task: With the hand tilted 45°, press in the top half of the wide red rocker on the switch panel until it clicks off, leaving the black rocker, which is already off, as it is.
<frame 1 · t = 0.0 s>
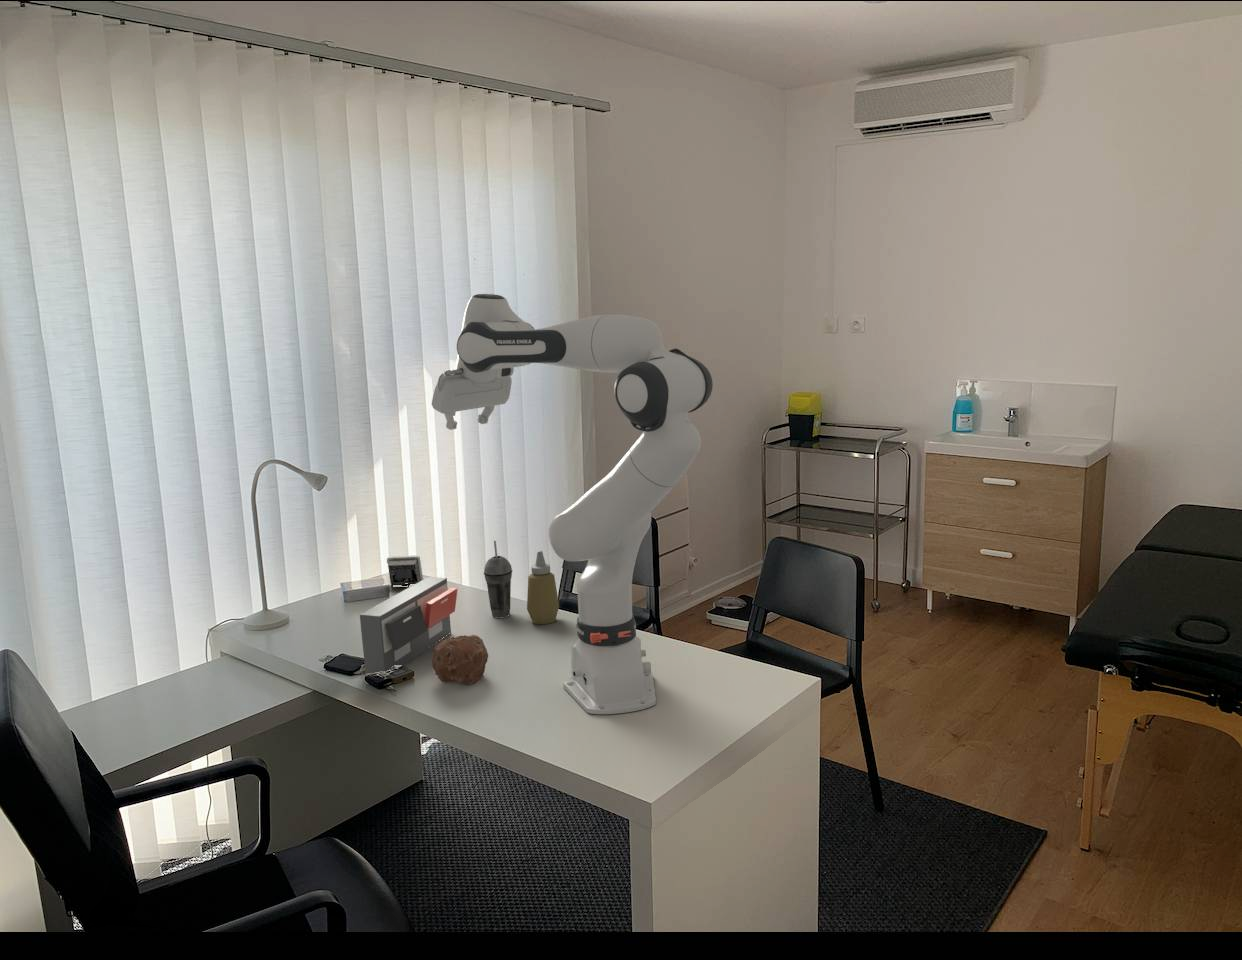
hand: (467, 425, 206), 52 cm above the table, tool tilted 20°, fingers open, 8 cm apart
switch panel: (410, 653, 214), on the table
red rocker: (441, 607, 217), point 9 cm above the table, hinge at -12.0°
squeeze bottle: (543, 621, 232), on the table
black rocker: (407, 627, 204), point 9 cm above the table, hinge at 12.0°
decorative rock: (460, 680, 198), on the table
beverage cup: (501, 615, 237), on the table
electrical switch: (406, 587, 265), on the table
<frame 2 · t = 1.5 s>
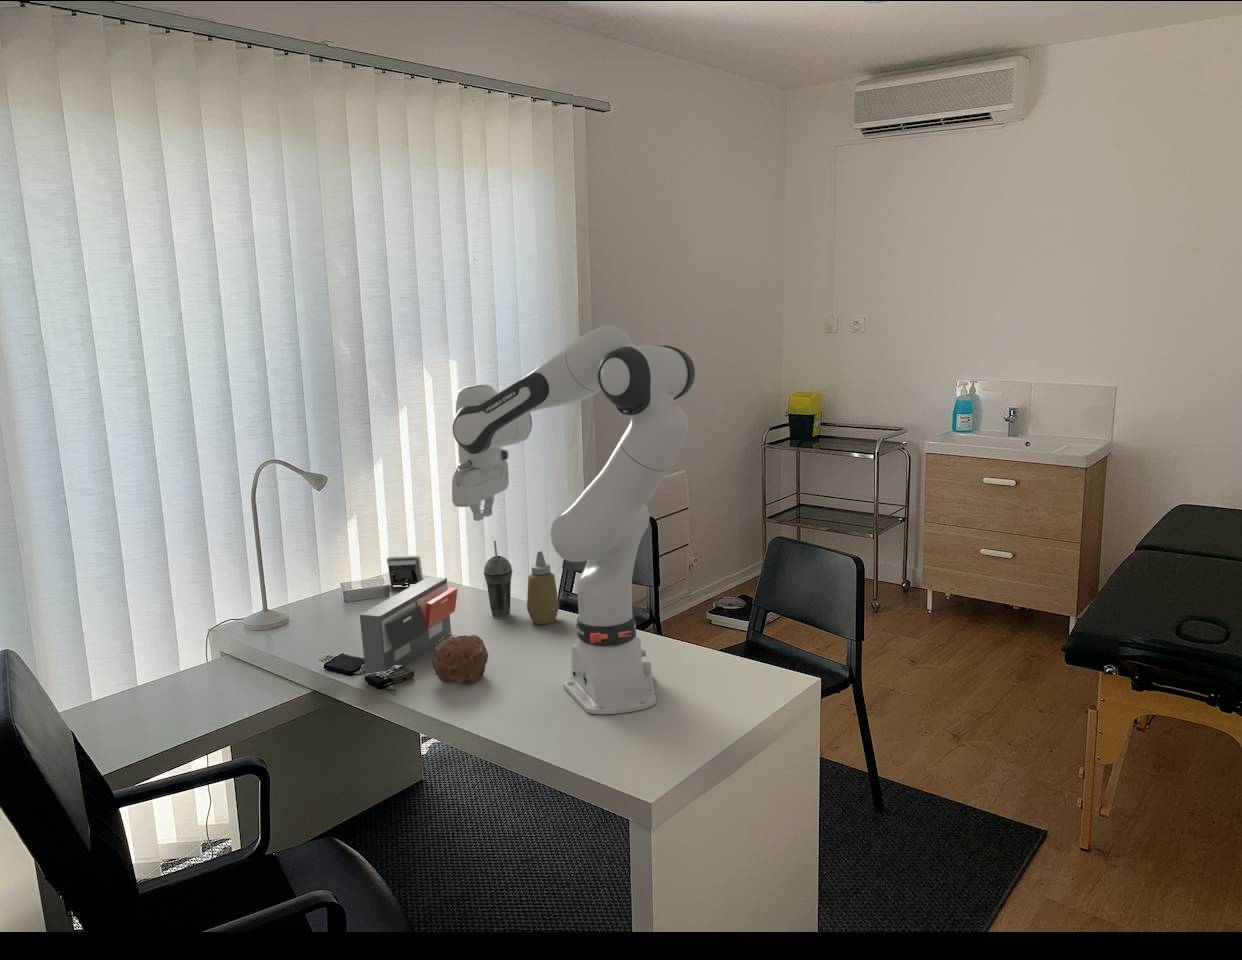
hand: (483, 518, 209), 31 cm above the table, tool pointing down, fingers open, 3 cm apart
nothing on the table moved.
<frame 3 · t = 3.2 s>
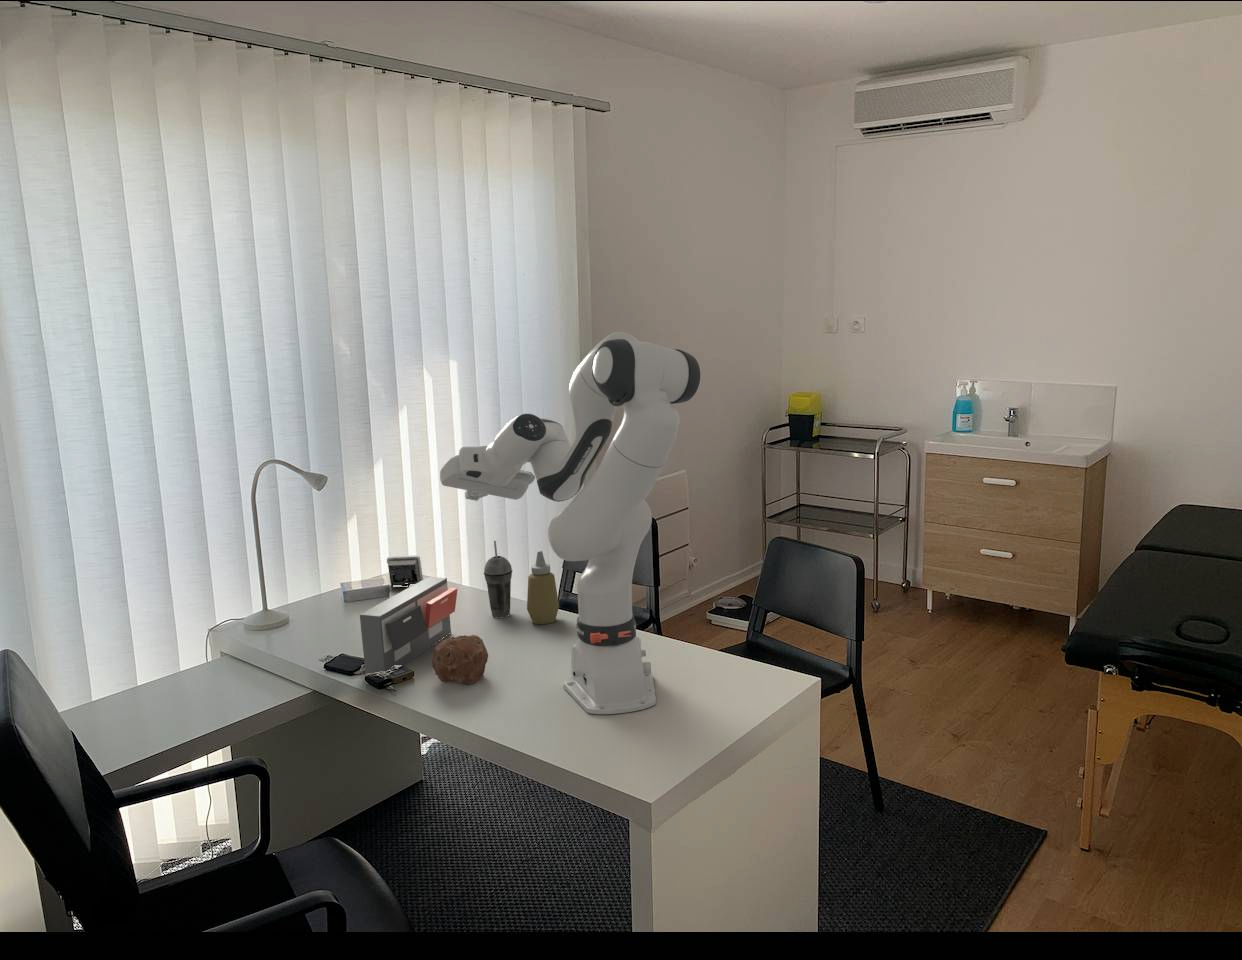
hand: (470, 497, 216), 34 cm above the table, tool tilted 50°, fingers closed
nothing on the table moved.
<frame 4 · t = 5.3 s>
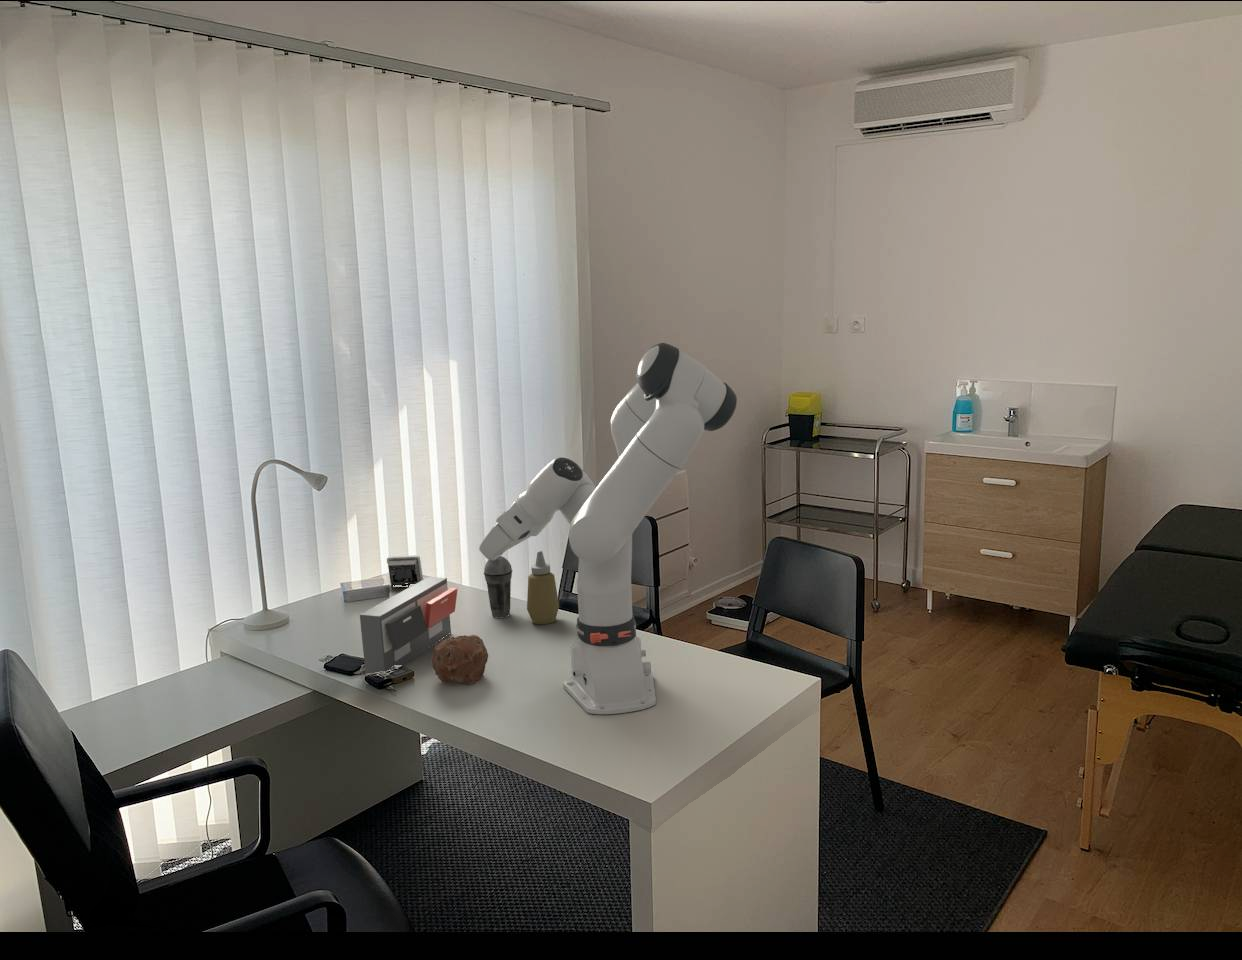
hand: (493, 556, 211), 22 cm above the table, tool tilted 45°, fingers closed
nothing on the table moved.
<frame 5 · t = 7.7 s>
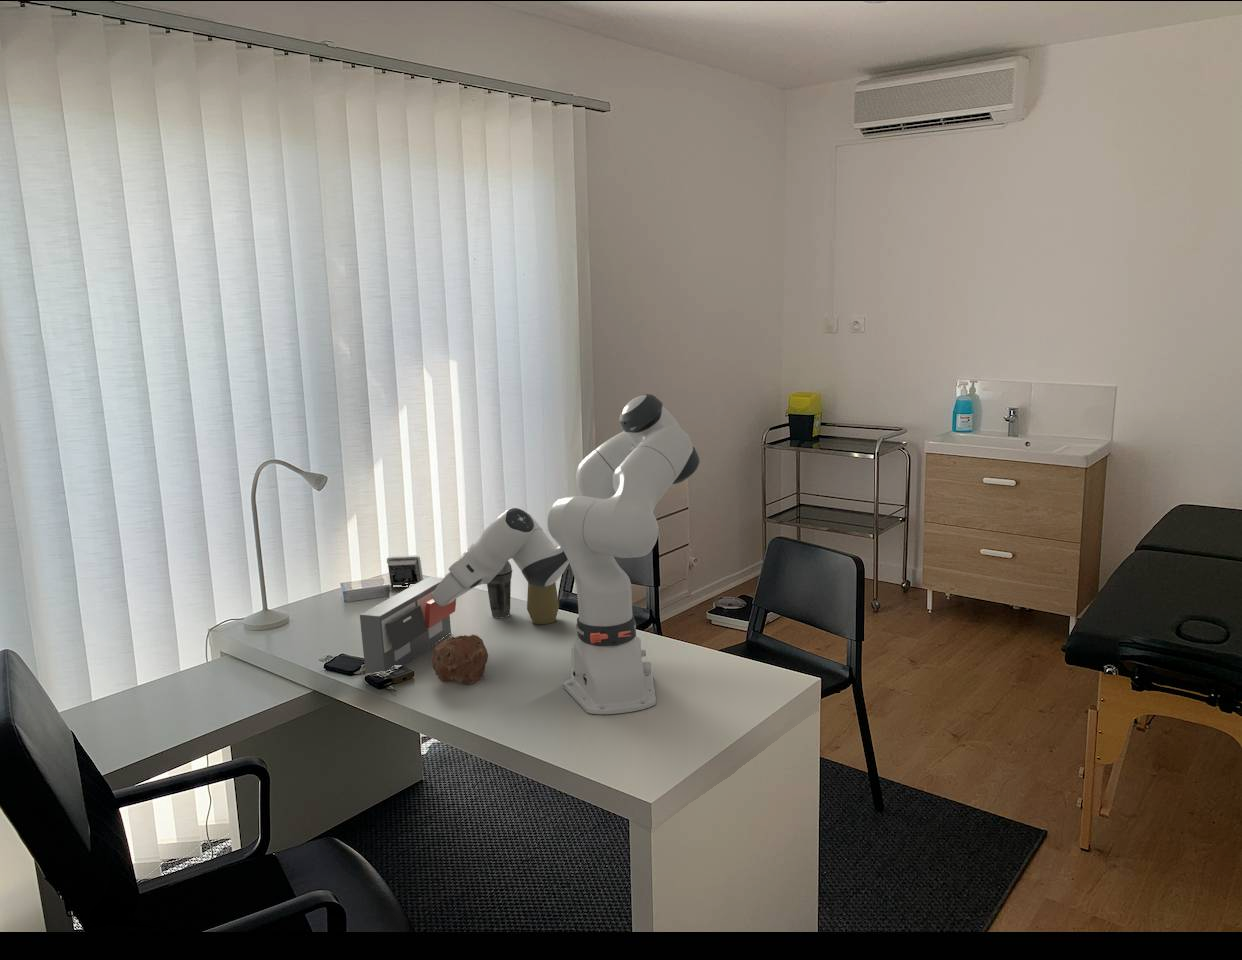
hand: (445, 602, 216), 10 cm above the table, tool tilted 45°, fingers closed, pressing on red rocker
red rocker: (441, 607, 217), point 9 cm above the table, hinge at -10.0°, touching gripper
everything else where it was.
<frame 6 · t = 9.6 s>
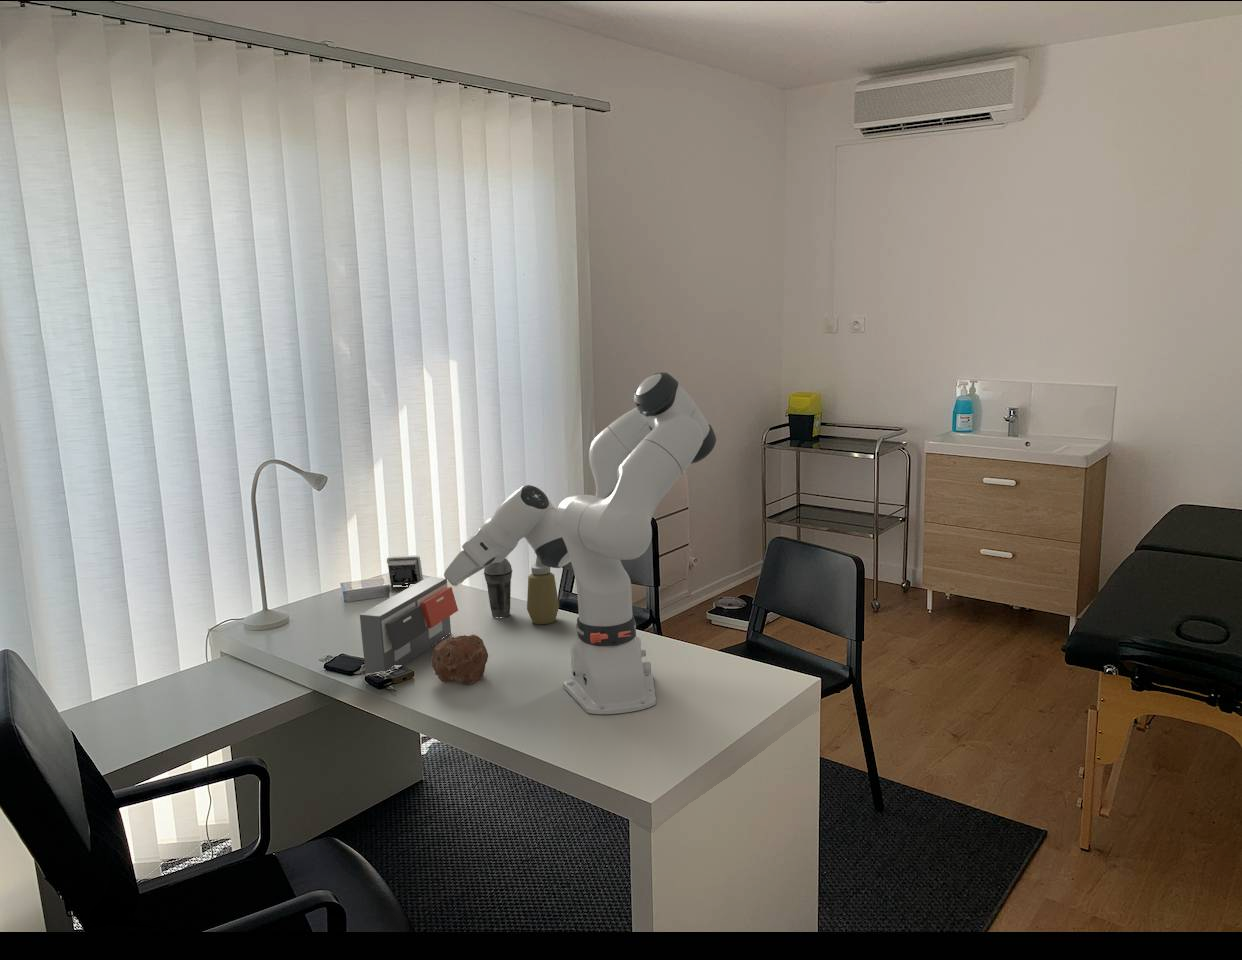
hand: (455, 582, 212), 16 cm above the table, tool tilted 45°, fingers closed
red rocker: (440, 607, 217), point 9 cm above the table, hinge at 13.5°
everything else where it was.
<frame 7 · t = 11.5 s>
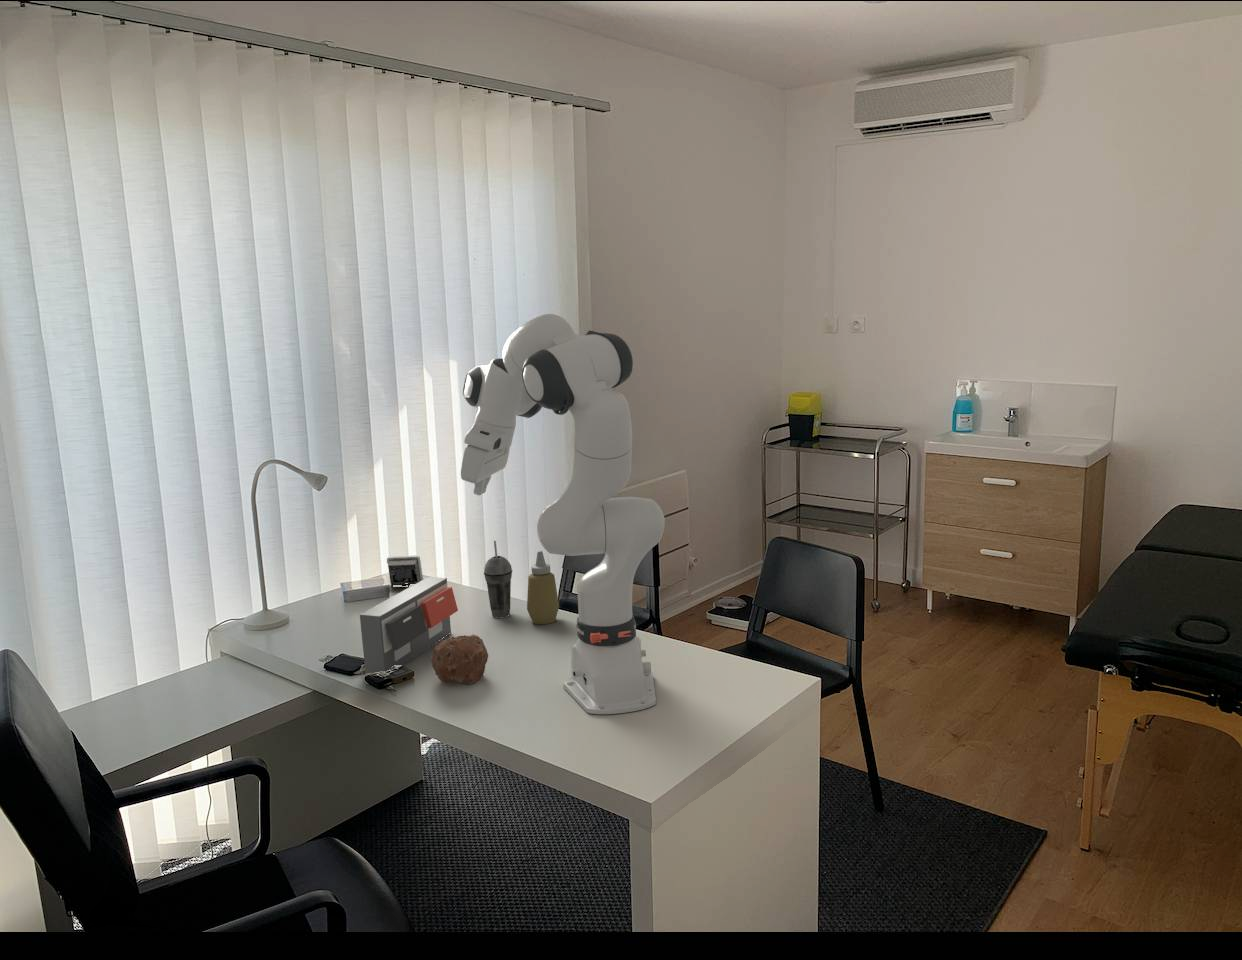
hand: (479, 493, 205), 37 cm above the table, tool tilted 15°, fingers closed
red rocker: (440, 607, 217), point 9 cm above the table, hinge at 12.1°
everything else where it was.
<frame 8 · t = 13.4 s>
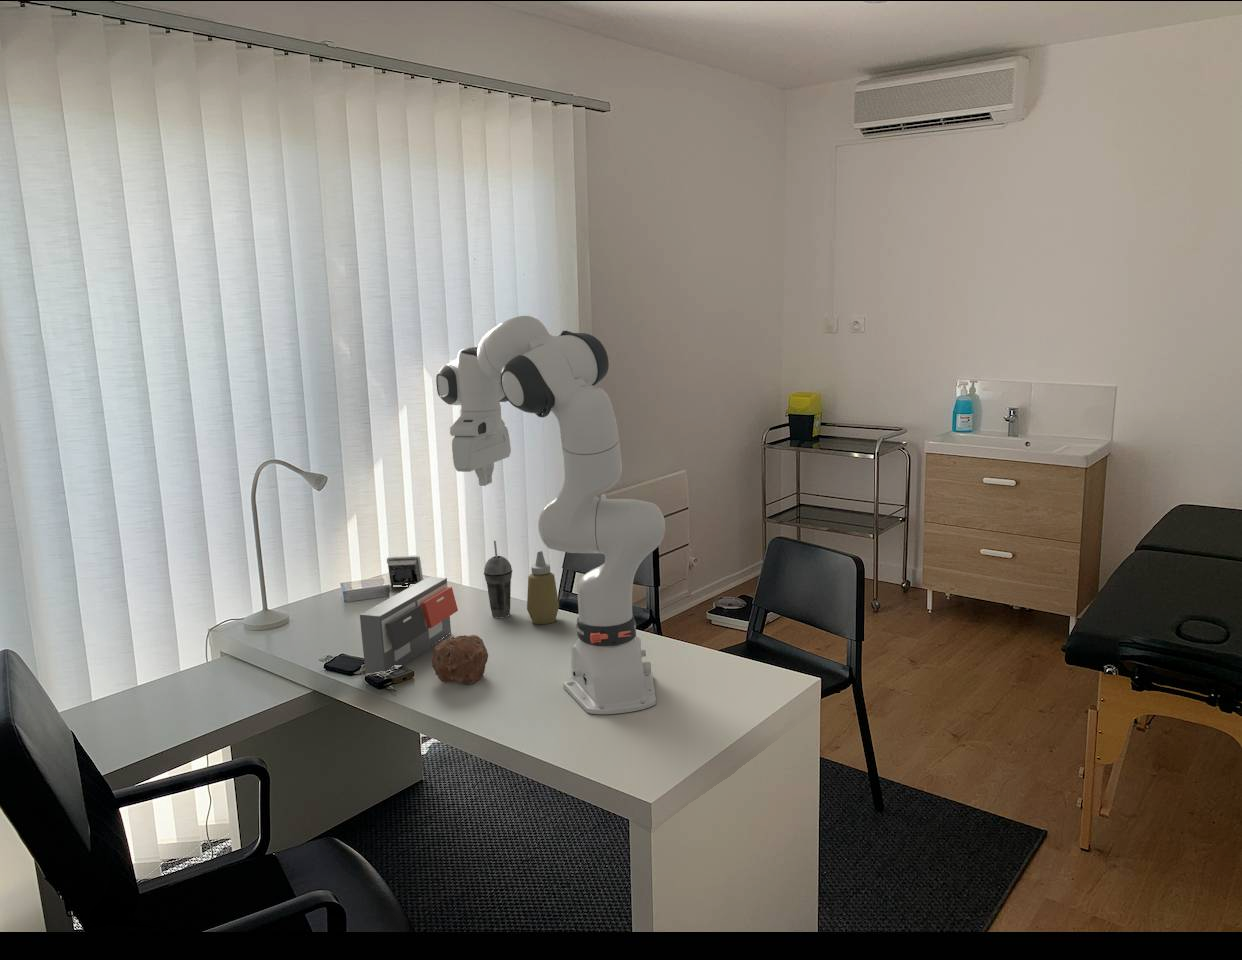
hand: (485, 484, 205), 39 cm above the table, tool pointing down, fingers closed
nothing on the table moved.
at the end: red rocker at +12° (first picture: -12°); black rocker at +12° (first picture: +12°) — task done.
